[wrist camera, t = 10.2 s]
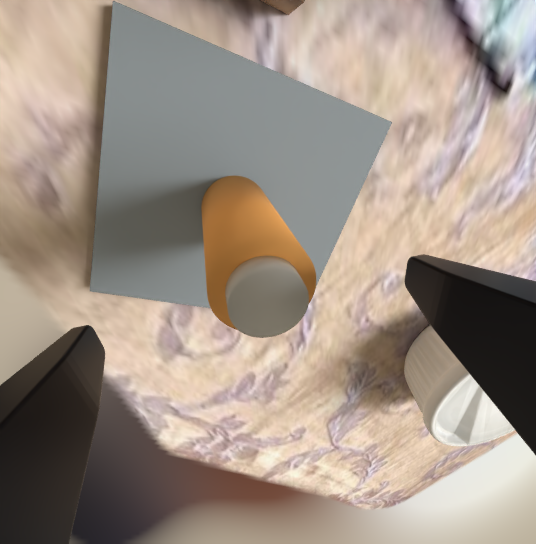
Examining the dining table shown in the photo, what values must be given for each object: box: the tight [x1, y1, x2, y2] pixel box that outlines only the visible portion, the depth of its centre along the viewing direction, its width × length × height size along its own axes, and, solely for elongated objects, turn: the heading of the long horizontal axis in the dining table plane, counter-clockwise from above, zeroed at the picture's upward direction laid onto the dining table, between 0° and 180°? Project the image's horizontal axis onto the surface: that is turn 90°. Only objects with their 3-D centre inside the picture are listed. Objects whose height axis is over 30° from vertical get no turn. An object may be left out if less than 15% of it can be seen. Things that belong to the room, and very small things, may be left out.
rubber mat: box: [90, 1, 392, 308], centre depth 15 cm, size 12×12×1 cm
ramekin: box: [404, 325, 515, 446], centre depth 23 cm, size 11×11×5 cm
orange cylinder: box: [201, 176, 316, 338], centre depth 11 cm, size 3×3×8 cm
